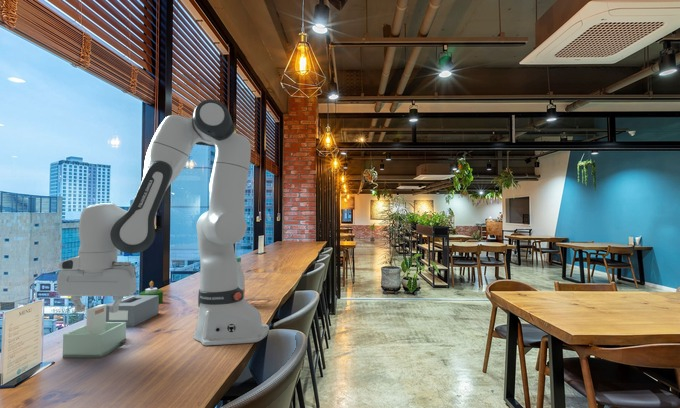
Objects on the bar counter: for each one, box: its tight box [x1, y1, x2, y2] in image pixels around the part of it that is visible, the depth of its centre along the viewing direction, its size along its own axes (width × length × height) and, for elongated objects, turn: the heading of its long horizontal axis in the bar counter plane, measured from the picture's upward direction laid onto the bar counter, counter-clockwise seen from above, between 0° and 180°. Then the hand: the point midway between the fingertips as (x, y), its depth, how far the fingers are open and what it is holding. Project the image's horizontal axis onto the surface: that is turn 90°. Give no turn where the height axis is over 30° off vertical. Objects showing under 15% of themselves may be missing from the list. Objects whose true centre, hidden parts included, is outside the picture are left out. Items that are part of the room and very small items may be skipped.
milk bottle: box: [236, 256, 246, 300], centre depth 135 cm, size 8×8×20 cm
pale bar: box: [85, 303, 107, 334], centre depth 92 cm, size 2×5×11 cm, turn 178°
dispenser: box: [106, 294, 160, 328], centre depth 114 cm, size 10×14×9 cm
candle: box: [139, 280, 164, 305], centre depth 138 cm, size 8×8×10 cm
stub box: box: [62, 322, 127, 359], centre depth 92 cm, size 10×10×6 cm
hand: (96, 311), depth 93 cm, fingers open, 8 cm apart
